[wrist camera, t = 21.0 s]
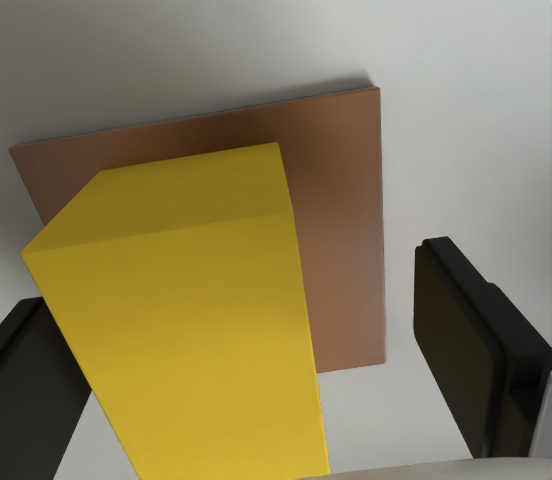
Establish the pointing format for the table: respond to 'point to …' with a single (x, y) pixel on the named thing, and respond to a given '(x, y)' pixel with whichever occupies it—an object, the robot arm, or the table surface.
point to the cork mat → (302, 188)
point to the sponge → (190, 315)
